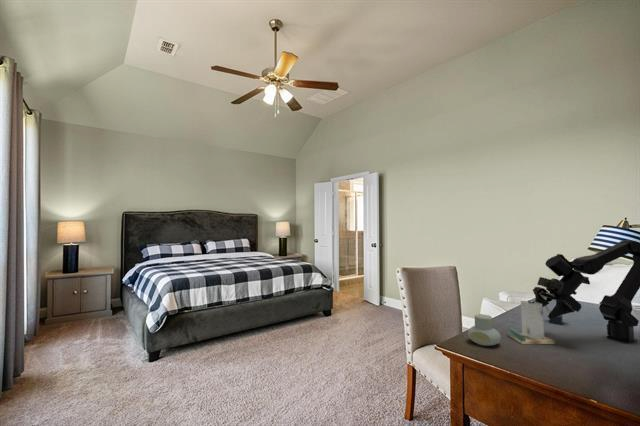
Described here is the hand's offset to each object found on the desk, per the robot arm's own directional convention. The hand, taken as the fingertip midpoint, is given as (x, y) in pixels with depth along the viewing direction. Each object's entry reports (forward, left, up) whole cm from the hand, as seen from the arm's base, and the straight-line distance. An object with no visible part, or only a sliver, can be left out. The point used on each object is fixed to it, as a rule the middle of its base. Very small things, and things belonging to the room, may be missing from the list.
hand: (540, 314), depth 118 cm
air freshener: (+6, +23, -10) cm, 26 cm away
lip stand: (+2, +4, -10) cm, 10 cm away
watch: (+12, -27, -10) cm, 31 cm away
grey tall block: (+1, +3, -8) cm, 9 cm away
